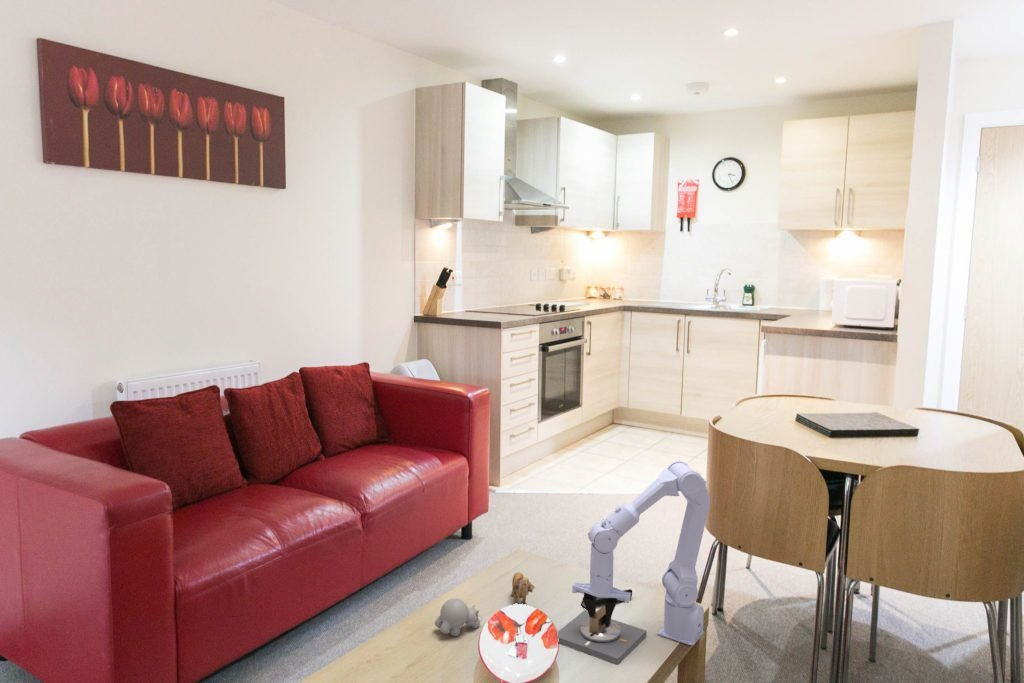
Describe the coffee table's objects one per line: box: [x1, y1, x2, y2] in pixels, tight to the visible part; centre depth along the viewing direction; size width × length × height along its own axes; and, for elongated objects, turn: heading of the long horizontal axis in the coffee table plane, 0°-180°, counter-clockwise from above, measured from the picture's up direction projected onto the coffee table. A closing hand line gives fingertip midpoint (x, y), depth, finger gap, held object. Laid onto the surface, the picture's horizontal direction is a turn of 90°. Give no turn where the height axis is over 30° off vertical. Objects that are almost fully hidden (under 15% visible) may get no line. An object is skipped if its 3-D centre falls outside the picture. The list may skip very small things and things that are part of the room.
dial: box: [580, 605, 620, 642], centre depth 182 cm, size 10×10×5 cm
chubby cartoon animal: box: [434, 597, 483, 637], centre depth 186 cm, size 7×12×8 cm, turn 114°
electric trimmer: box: [580, 588, 633, 611], centre depth 202 cm, size 4×16×3 cm, turn 113°
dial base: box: [557, 609, 648, 665], centre depth 183 cm, size 18×16×2 cm
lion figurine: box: [510, 571, 536, 605], centre depth 202 cm, size 15×5×9 cm, turn 15°
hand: (600, 623), depth 183 cm, fingers closed on dial, 3 cm apart
